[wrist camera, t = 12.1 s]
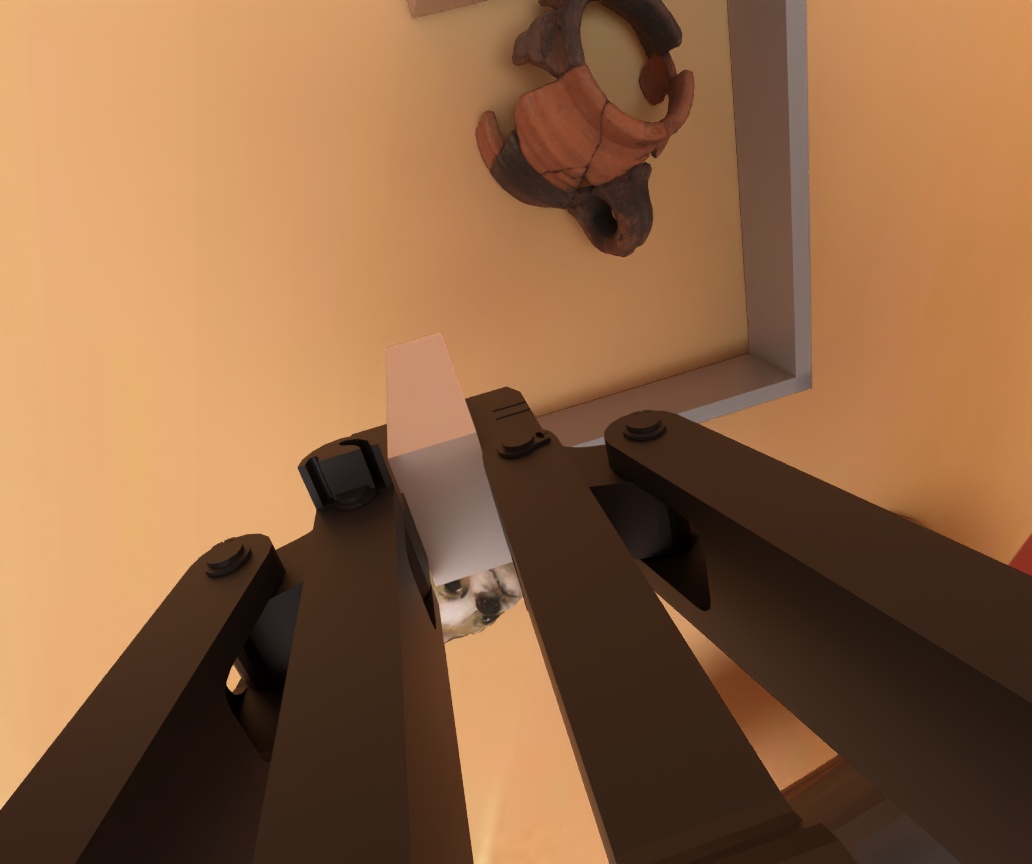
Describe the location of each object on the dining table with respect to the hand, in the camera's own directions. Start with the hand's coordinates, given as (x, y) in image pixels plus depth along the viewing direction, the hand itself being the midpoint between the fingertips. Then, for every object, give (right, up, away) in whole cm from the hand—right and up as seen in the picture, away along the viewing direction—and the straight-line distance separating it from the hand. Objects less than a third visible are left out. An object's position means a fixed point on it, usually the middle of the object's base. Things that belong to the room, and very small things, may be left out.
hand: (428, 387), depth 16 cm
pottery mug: (+5, +15, +16) cm, 23 cm away
